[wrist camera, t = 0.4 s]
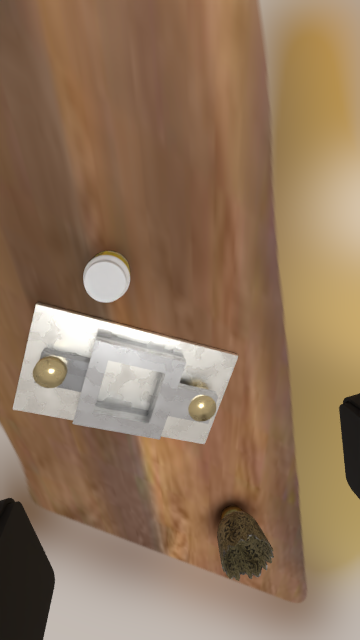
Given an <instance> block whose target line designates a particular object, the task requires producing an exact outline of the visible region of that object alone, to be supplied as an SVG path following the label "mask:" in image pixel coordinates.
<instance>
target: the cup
mask: <svg viewBox="0 0 360 640" xmlns="http://www.w3.org/2000/svg"><path fill="white" fill-rule="evenodd" d="M217 538H218V546H219V552H220V558H221V564H222V568H223V571H224V572H226V574H227V576H228V577H229V578H230V579H232V578H233V577H235V579H236V580H238V581H239V579H240V574H242V575H244V573H246V574H247V575H248V576H249V578H250V579H252V574H253V575H254V576H256V577H259V576H260V575H261V569H262V567H263V568H264V569H265V570H267V564H266V561H267V562H269V563H272V560H271V557H272V558H274V556H273V553H272V551H273V548H272V547H271V545H270V543H269V542H268V540H267V538H266V537H265V535H264V533H263V531H262V530H261V528H260V526H259V525H258V523H257V522H256V521H255V520H254V518H253V517H252V516H250V515H249V514H247V513H245V512H243V511H242V510H241V509H240V508H239V507H237V506H228V507H226V508H225V509H224V510H223V512H222V514H221V522H220V524H219V526H218V532H217ZM270 547H271V548H270Z"/></svg>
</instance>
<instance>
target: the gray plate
mask: <svg viewBox="0 0 360 640" xmlns="http://www.w3.org/2000/svg"><path fill="white" fill-rule="evenodd" d="M237 358H238V355H237V354H236V353H233V352H229V351H225V350H222V349H218V348H214V347H210V346H206V345H202V344H198V343H194V342H191V341H187V340H183V339H179V338H175V337H171V336H167V335H163V334H160V333H156V332H152V331H148V330H144V329H140V328H136V327H132V326H129V325H125V324H121V323H117V322H113V321H109V320H105V319H102V318H98V317H94V316H90V315H86V314H82V313H78V312H74V311H71V310H67V309H63V308H59V307H55V306H51V305H47V304H43V303H40V302H38V303H37V304H36V306H35V311H34V315H33V320H32V324H31V329H30V333H29V338H28V342H27V347H26V351H25V356H24V360H23V365H22V369H21V374H20V378H19V383H18V387H17V392H16V396H15V400H14V405H13V409H14V410H19V411H25V412H30V413H36V414H41V415H47V416H52V417H58V418H63V419H69V420H73V424H76V425H82V426H87V427H93V428H99V429H104V430H110V431H115V432H121V433H126V434H132V435H138V436H143V437H149V438H154V439H160V437H161V436H162V437H168V438H173V439H179V440H184V441H190V442H195V443H201V444H205V442H206V439H207V437H208V434H209V431H210V429H211V426H212V424H213V421H214V418H215V416H216V413H217V410H218V408H219V405H220V403H221V400H222V397H223V395H224V392H225V390H226V387H227V384H228V382H229V379H230V376H231V374H232V371H233V369H234V366H235V363H236V361H237Z"/></svg>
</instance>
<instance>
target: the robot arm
mask: <svg viewBox="0 0 360 640" xmlns="http://www.w3.org/2000/svg"><path fill="white" fill-rule="evenodd" d="M339 411H340V421H341V432H342V442H343V452H344V463H345V473H346V479H347V482H348V484H349V486H350V487H351V489H352V491H353V492H354V493H355V494H356V495H357V496H358V498H359V499H360V394H357V395H353V396H350V397H346V398H345V399H344V401H343V404H341V405H340V407H339ZM54 584H55V577H54V571H53V569H52V567H51V565H50V562H49V560H48V558H47V556H46V554H45V552H44V550H43V548H42V546H41V543H40V541H39V539H38V537H37V535H36V533H35V531H34V529H33V527H32V525H31V523H30V521H29V518H28V516H27V514H26V512H25V510H24V508H23V506H22V504H21V503H20V502H15V501H14V500H13V499H12V498H8V499H4V500H1V501H0V640H43V637H44V632H45V627H46V623H47V618H48V613H49V609H50V604H51V599H52V595H53V590H54Z"/></svg>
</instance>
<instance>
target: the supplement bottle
mask: <svg viewBox="0 0 360 640" xmlns="http://www.w3.org/2000/svg"><path fill="white" fill-rule="evenodd" d="M83 281H84V286H85V289H86V291H87V293H88V294H89V295H90V296H91V297H92V298H93V299H95V300H96V301H99V302H104V303H108V302H113V301H115V300H117V299H118V298H120V297H121V296H123V295H124V293H125V292H126V291H127V289H128V287H129V284H130V267H129V264H128V262H127V260H126V259H125V257H124V256H123V255H121V254H120V253H118V252H115V251H103V252H100V253H98V254H97V255H96V256H95V257H94V258H93V259H92V260H90V261H89V263H88V264H87V265H86V267H85V270H84V274H83Z"/></svg>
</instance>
